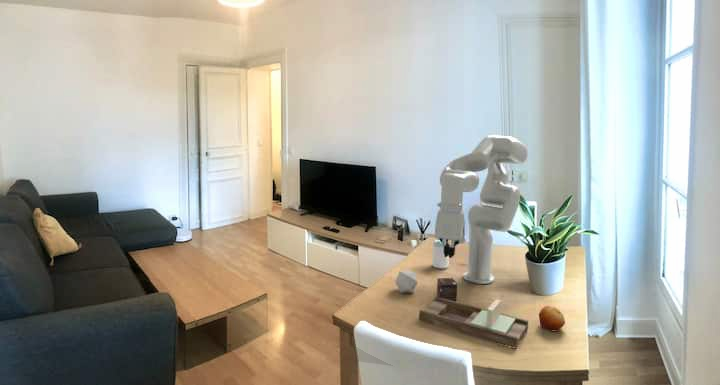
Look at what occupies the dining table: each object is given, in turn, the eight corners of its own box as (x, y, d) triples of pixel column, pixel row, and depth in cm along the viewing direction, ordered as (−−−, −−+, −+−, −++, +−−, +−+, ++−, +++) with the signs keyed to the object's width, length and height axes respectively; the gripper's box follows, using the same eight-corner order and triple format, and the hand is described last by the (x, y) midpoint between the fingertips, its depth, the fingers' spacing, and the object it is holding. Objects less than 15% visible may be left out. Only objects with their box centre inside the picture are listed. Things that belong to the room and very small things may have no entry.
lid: (482, 312, 150) (483, 294, 149) (515, 320, 144) (516, 302, 143) (470, 325, 141) (471, 306, 140) (505, 335, 135) (506, 315, 134)
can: (443, 270, 196) (444, 244, 193) (429, 266, 200) (430, 241, 198) (451, 266, 201) (452, 240, 199) (437, 262, 205) (438, 237, 203)
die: (410, 299, 168) (423, 277, 169) (391, 286, 168) (404, 265, 170) (408, 297, 176) (420, 276, 177) (389, 286, 176) (402, 265, 178)
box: (436, 296, 169) (437, 278, 168) (451, 295, 170) (452, 277, 168) (440, 303, 163) (441, 284, 162) (456, 302, 164) (457, 283, 162)
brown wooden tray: (436, 305, 161) (436, 296, 161) (527, 330, 144) (528, 320, 143) (418, 320, 150) (419, 310, 149) (515, 349, 132) (516, 338, 132)
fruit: (535, 314, 152) (550, 298, 148) (555, 331, 149) (571, 315, 145) (529, 323, 145) (544, 307, 142) (550, 341, 142) (566, 325, 139)
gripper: (427, 206, 161) (425, 255, 164) (468, 212, 152) (465, 263, 156) (435, 203, 167) (433, 249, 170) (475, 208, 158) (472, 257, 162)
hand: (449, 256), depth 163 cm, fingers closed
